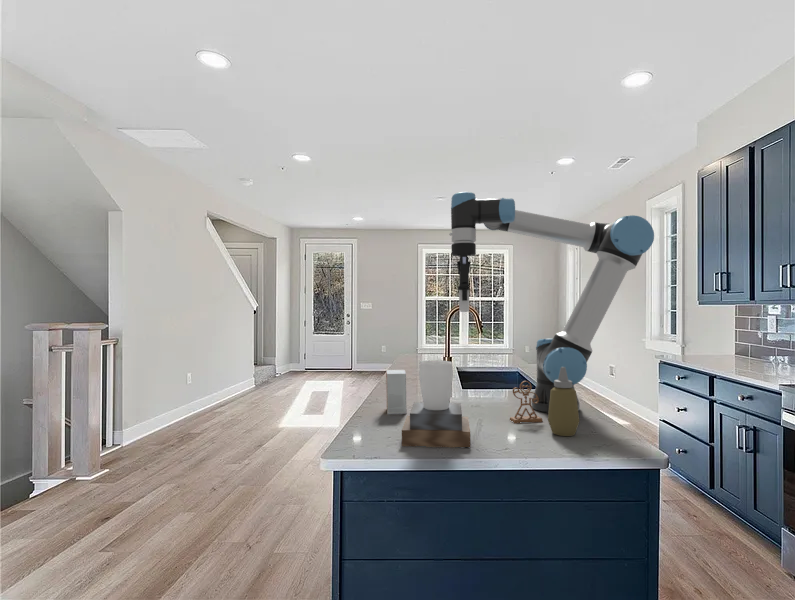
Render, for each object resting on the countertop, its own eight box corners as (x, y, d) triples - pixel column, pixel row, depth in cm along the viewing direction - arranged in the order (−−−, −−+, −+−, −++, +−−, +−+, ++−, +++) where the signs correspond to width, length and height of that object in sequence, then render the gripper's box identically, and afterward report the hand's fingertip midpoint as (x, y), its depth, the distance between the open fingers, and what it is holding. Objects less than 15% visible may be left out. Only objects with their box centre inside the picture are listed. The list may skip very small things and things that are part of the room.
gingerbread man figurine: (536, 418, 148) (536, 379, 148) (542, 421, 144) (542, 381, 144) (509, 420, 147) (509, 380, 147) (514, 423, 143) (514, 382, 143)
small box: (386, 408, 163) (386, 369, 163) (405, 408, 163) (405, 369, 163) (386, 414, 155) (386, 373, 155) (406, 414, 155) (406, 373, 155)
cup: (453, 404, 132) (452, 360, 132) (453, 412, 123) (453, 364, 123) (420, 403, 133) (419, 360, 133) (418, 411, 124) (417, 364, 124)
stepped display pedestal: (468, 431, 135) (468, 402, 135) (470, 447, 120) (470, 415, 120) (407, 429, 137) (406, 401, 137) (401, 446, 122) (401, 414, 122)
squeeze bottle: (564, 439, 126) (563, 370, 126) (541, 432, 133) (541, 366, 133) (586, 435, 130) (585, 368, 130) (563, 428, 137) (562, 364, 137)
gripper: (451, 247, 165) (451, 309, 165) (451, 238, 140) (451, 312, 140) (473, 246, 164) (474, 309, 164) (477, 238, 139) (478, 312, 139)
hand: (464, 311), depth 152 cm, fingers open, 13 cm apart
